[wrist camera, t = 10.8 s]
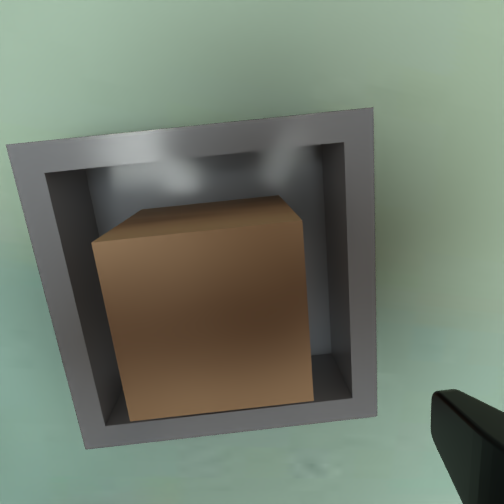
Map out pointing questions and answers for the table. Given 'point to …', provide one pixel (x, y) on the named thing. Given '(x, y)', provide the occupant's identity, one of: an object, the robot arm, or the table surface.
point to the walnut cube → (208, 307)
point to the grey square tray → (203, 191)
